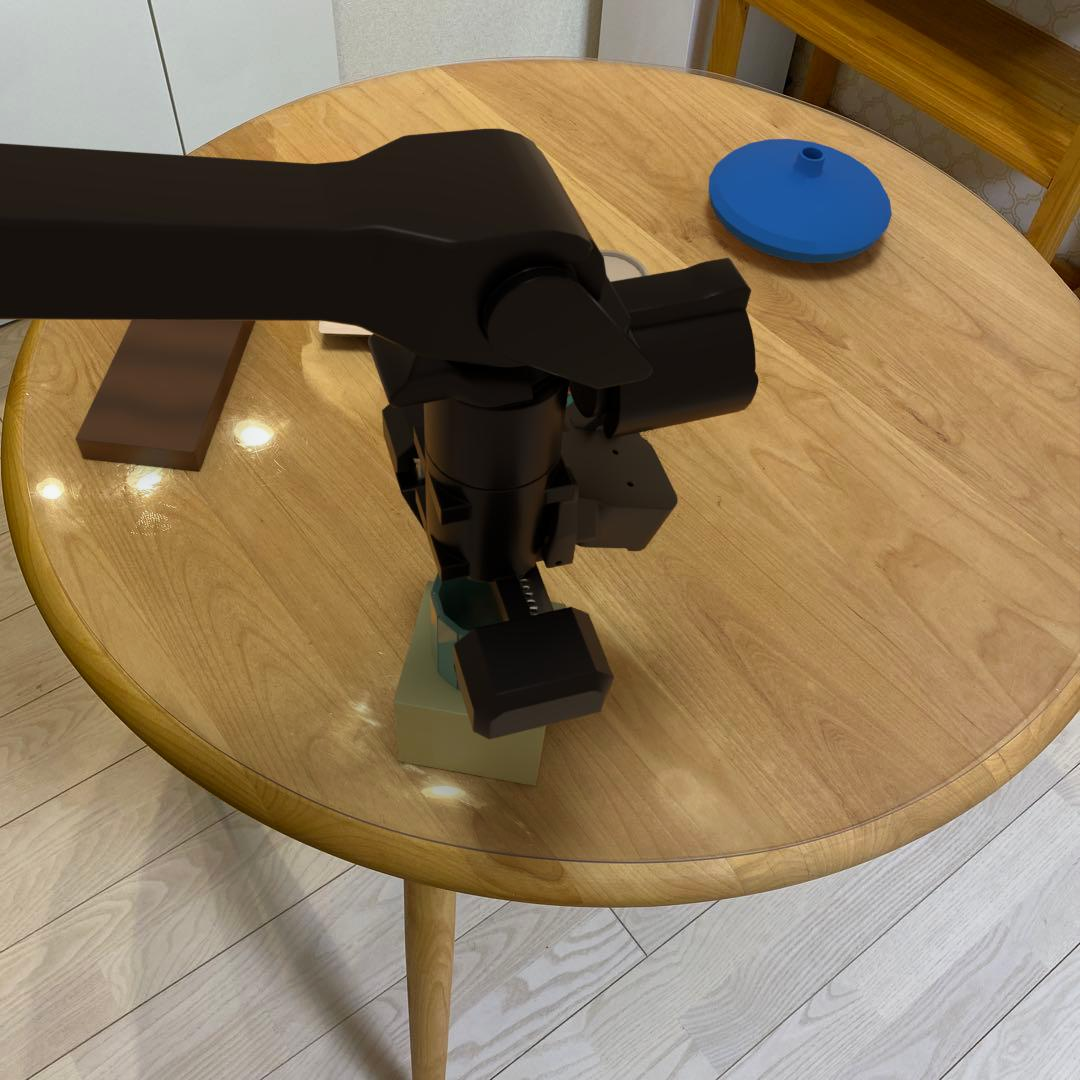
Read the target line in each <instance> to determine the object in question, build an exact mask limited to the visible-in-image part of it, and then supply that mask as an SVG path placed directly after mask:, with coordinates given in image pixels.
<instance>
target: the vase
mask: <svg viewBox="0 0 1080 1080" xmlns="http://www.w3.org/2000/svg"><path fill="white" fill-rule="evenodd" d="M708 196H709V202H710V205H711V208H712V211H713V213H714V215H715V218H716V219H717V220H718V222H719V223H720V224H721V226H723V228H724V229H725V230H726V232H728V233H729V234H731V235H732V236H733V237H735V238H736V239H738V240H739V241H740V242H741V243H743V244H745V245H747V246H749V247H750V248H753V249H754V250H757V251H759V252H761V253H763V254H767V255H770V256H772V257H776V258H780V259H783V260H786V261H795V262H802V263H809V264H819V263H835V262H839V261H844V260H846V259H851V258H854V257H856V256H858V255H860V254H862V253H864V252H865V251H867V250H869V249H870V248H871V247H873V245H874V244H875V243H876V242H877V241H878V240H879V239H880V238H881V237H882V235H883V234H884V233H885V232H886V231H887V230H888V228H889V225H890V223H891V219H892V215H893V213H892V205H891V199H890V197H889V195H888V194H887V191H886V190H885V187H884V186H883V184H882V183H881V180H880V179H879V177H877V176H876V174H875V173H874V172H873V171H872V170H870V168H868V166H867V165H865V164H864V163H862V162H860V161H859V160H858V159H856V158H854V157H853V156H851V155H850V154H847V153H846V152H845V153H844V152H843V151H841V150H838V149H836V148H834V147H831V146H828V145H826V144H825V145H824V144H821V143H817V142H813V141H809V140H801V139H793V138H772V139H771V138H770V139H769V138H768V139H764V140H759V141H753V142H749V143H747V144H745V145H742V146H740V147H738V148H736V149H734V150H732V151H731V152H729V153H728V154H726V155H725V156H724V157H723V158H722V159H720V160H719V161H718V162H717V163H716V164H715V165H714V167H713V169H712V170H711V172H710V175H709V176H708Z"/></svg>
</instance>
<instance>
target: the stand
mask: <svg viewBox="0 0 1080 1080" xmlns="http://www.w3.org/2000/svg"><path fill="white" fill-rule="evenodd" d="M434 581H435V580H427V581H426V583H425V587H424V590H423V594H422V598H421V601H420V605H419V609H418V612H417V615H416V619H415V622H414V626H413V630H412V633H411V638H410V640H409V644H408V648H407V651H406V655H405V659H404V662H403V665H402V669H401V672H400V677H399V680H398V683H397V687H396V691H395V695H394V699H393V712H394V713H393V714H394V723H395V738H396V749H397V759H398V762H400V763H406V764H412V765H418V766H422V767H428V768H434V769H439V770H444V771H451V772H454V773H455V772H456V773H461V774H467V775H472V776H473V775H474V776H478V777H483V778H488V779H494V780H498V781H499V780H501V781H506V782H512V783H517V784H522V785H526V786H527V785H528V786H534V787H535V786H536V785H537V782H538V775H539V770H540V766H541V765H540V764H541V759H542V753H543V747H544V743H545V742H544V741H545V736H546V731H547V726H548V725H546V726H542V727H538V728H534V729H530V730H526V731H522V732H518V733H514V734H510V735H506V736H502V737H498V738H494V739H490V740H489V739H487V738H485V737H483V736H481V735H479V734H477V733H475V732H473V730H472V726H471V723H470V720H469V716H468V713H467V710H466V707H465V703H464V700H463V697H462V693H461V691H459V690H458V689H455V688H454V687H453V686H452V685H451V684H450V683H448V682H447V681H446V680H445V679H444V678H443V677H442V676H440V675H439V672H437V669H436V665H435V662H434V658H433V655H432V644H431V602H430V593H431V590H432V587H433V584H434ZM551 604H552V606H553V609H554V610H558V609H563V608H567V604H566V603H564V602H563V603H562V602H556V601H551Z"/></svg>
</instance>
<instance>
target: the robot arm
mask: <svg viewBox="0 0 1080 1080" xmlns="http://www.w3.org/2000/svg"><path fill="white" fill-rule="evenodd" d="M592 236H593V235H592V234H591V233H590V231H589V229H588V228H587V226H586V224H585V222H584V221H583V218H582V217H581V215H580V214H579V212H578V210H577V208H576V207H575V205H574V203H573V201H572V200H571V198H570V196H569V194H568V192H567V191H566V189H565V187H564V185H563V184H562V181H560V179H559V176H558V175H557V173H556V171H555V169H554V168H553V167H552V164H551V163H550V162H549V161H548V159H547V157H546V156H545V154H544V153H543V151H542V150H541V149H540V148H539V147H538V146H537V144H536V143H535V141H533V140H532V139H530V138H528V137H526V136H525V135H524V134H521V133H519V132H516V131H511V130H508V129H505V128H475V129H463V130H451V131H441V132H440V131H439V132H428V133H417V134H415V133H414V134H407V135H402V136H399V137H398V138H396V139H393V140H391V141H389V142H387V143H385V144H383V145H381V146H378V147H377V148H374V149H373V150H371V151H368V152H366V153H365V154H363V155H361V156H358V157H356V158H354V159H350V160H341V161H340V160H339V161H330V162H318V163H308V162H307V163H306V162H290V161H276V160H275V161H274V160H260V159H246V158H230V157H215V156H202V155H201V156H200V155H187V154H186V155H184V154H170V153H154V152H139V151H124V150H123V151H122V150H109V149H94V148H93V149H91V148H77V147H64V146H63V147H61V146H48V145H31V144H16V143H2V142H1V143H0V320H15V321H16V320H19V321H23V320H26V321H27V320H30V321H31V320H34V321H35V320H37V321H38V320H39V321H40V320H41V321H42V320H43V321H44V320H45V321H47V320H50V321H52V320H53V321H60V320H61V321H131V320H231V321H254V322H256V321H257V322H258V321H259V322H261V321H263V322H265V321H266V322H267V321H269V322H272V321H273V322H277V321H278V322H320V321H326V322H333V323H340V324H346V325H353V326H357V327H360V328H363V329H365V330H367V331H369V332H371V333H373V334H372V335H371V336H370V337H368V339H367V346H368V349H369V352H370V355H371V357H372V361H373V363H374V365H375V368H376V371H377V374H378V377H379V381H380V383H381V384H382V388H383V391H384V394H385V397H386V400H387V402H388V404H387V405H386V406H385V407H384V408H383V409H382V410H381V417H382V419H381V420H382V432H383V433H382V436H383V438H384V442H385V446H386V448H387V451H388V455H389V458H390V461H391V465H392V468H393V470H394V473H395V478H396V481H397V484H398V488H399V492H400V494H401V496H402V497H403V499H404V501H405V502H406V504H407V506H408V507H409V509H410V511H411V512H412V513H413V515H414V517H415V518H416V520H417V521H418V523H419V525H420V526H421V528H422V530H423V531H424V533H425V534H426V539H427V541H428V544H429V548H430V551H431V554H432V557H433V560H434V565H435V567H436V570H437V573H438V574H439V577H440V580H441V582H445V581H450V580H454V579H459V578H464V577H468V579H470V580H472V581H476V582H485V583H489V586H490V588H491V591H492V594H493V597H494V600H495V603H496V606H497V609H498V612H499V615H500V618H501V621H502V622H500V623H496V624H491V625H487V626H482V627H478V628H474V629H473V630H471V631H470V632H469V633H468V634H466V635H465V636H464V637H462V638H461V639H460V640H458V641H457V642H456V643H454V646H453V658H454V663H455V664H454V670H455V673H456V676H457V680H458V683H459V687H460V690H461V693H462V697H463V700H464V703H465V707H466V710H467V713H468V716H469V720H470V723H471V726H472V730H473V732H475V733H477V734H479V735H481V736H483V737H485V738H487V739H489V740H490V739H494V738H498V737H502V736H506V735H510V734H514V733H518V732H522V731H526V730H530V729H534V728H538V727H542V726H546V725H547V726H549V725H553V724H557V723H558V724H559V723H561V722H566V721H569V720H573V719H577V718H581V717H585V716H589V715H595V714H597V713H602V711H603V709H604V707H605V706H606V704H607V702H608V700H609V698H610V695H611V690H612V687H613V683H614V679H615V677H614V674H613V671H612V669H611V666H610V664H609V660H608V659H607V656H606V653H605V652H604V648H603V647H602V643H601V641H600V639H599V636H598V633H597V631H596V629H595V626H594V624H593V621H592V618H591V616H590V613H588V612H585V611H583V610H580V609H579V608H576V607H573V606H568V607H567V606H566V608H563V609H558V610H554V609H553V606H552V604H551V602H552V601H551V598H550V596H549V593H548V591H547V587H546V585H545V583H544V579H543V578H542V575H541V572H540V569H539V566H538V564H537V563H539V562H543V563H544V566H545V568H546V569H554V568H557V567H563V566H566V565H572V564H573V563H574V556H575V551H576V546H578V547H580V548H590V549H626V550H627V551H628V552H641V551H643V550H645V549H647V547H648V545H649V544H650V543H651V541H652V540H653V538H654V537H655V535H656V534H657V533H658V531H659V530H660V529H661V528H662V526H663V524H665V522H666V520H667V519H668V517H669V516H670V515H671V513H672V512H673V511H674V509H675V508H676V506H677V505H678V502H679V501H678V495H677V492H676V490H675V489H674V485H672V482H671V480H670V478H669V477H668V474H667V473H666V470H665V468H664V466H663V464H662V462H661V460H660V458H659V456H658V454H657V452H656V449H655V448H654V447H653V445H652V444H651V443H650V441H648V440H647V439H646V438H645V437H643V436H642V435H641V433H645V432H649V431H650V432H651V431H655V430H659V429H663V428H668V427H669V428H670V427H672V426H678V425H682V424H687V423H688V424H689V423H693V422H697V421H701V420H706V419H711V418H716V417H720V416H725V415H730V414H734V413H739V412H742V411H746V409H747V408H748V407H749V406H750V405H751V404H752V402H753V401H754V398H755V396H756V394H757V389H758V387H759V381H760V380H759V375H758V373H757V371H756V369H757V363H756V362H757V361H756V360H757V359H756V345H755V340H754V333H753V328H752V325H751V321H750V318H749V314H748V311H747V309H748V303H749V301H750V298H751V294H752V289H751V287H750V286H749V284H748V283H747V281H746V280H745V278H744V277H743V276H742V274H741V272H740V270H739V269H738V267H737V266H736V265H735V263H734V262H733V260H732V259H731V258H730V257H723V258H717V259H712V260H707V261H702V262H699V263H696V264H693V265H690V266H688V267H686V268H680V269H675V270H671V271H665V272H658V273H653V274H649V275H646V276H641V277H635V278H629V279H623V280H617V281H611V282H610V280H609V279H608V277H607V275H606V269H605V262H604V257H603V255H602V254H601V252H600V250H601V249H600V248H599V247H598V245H597V243H596V241H595V240H594V237H592ZM568 388H569V390H570V393H571V396H572V399H573V402H572V403H570V404H569V405H568V406H567V407H566V404H567V396H568ZM517 577H520V578H519V581H518V578H517ZM520 584H523V585H522V589H521V586H520ZM522 591H526V592H524V594H523V592H522ZM525 598H528V599H527V603H526V600H525ZM528 605H531V606H529V608H528ZM530 612H534V613H532V615H531V614H530ZM547 726H546V727H547Z"/></svg>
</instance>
